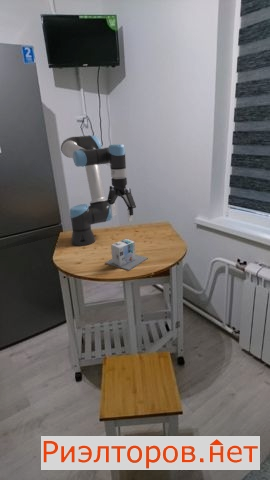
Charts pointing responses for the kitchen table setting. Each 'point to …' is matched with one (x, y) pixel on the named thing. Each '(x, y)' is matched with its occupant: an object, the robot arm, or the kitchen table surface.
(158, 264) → the kitchen table surface
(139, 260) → the grey mat
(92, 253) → the kitchen table surface
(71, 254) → the kitchen table surface
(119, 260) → the light bulb box
